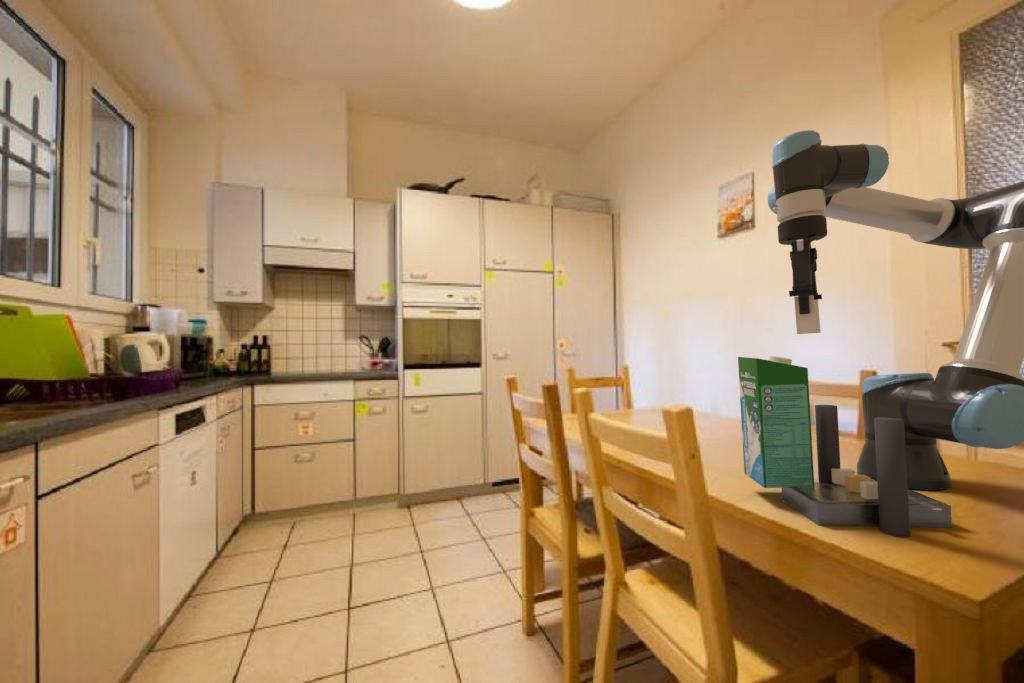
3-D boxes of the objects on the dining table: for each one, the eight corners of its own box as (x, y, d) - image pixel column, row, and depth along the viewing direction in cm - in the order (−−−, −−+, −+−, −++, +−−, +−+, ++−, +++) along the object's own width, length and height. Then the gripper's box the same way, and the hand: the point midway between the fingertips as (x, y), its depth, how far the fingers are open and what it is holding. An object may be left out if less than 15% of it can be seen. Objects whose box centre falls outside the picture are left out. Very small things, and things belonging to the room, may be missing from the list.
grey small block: (850, 482, 81) (849, 468, 81) (855, 484, 79) (854, 470, 79) (832, 481, 81) (831, 468, 81) (836, 484, 80) (835, 470, 80)
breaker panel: (887, 497, 83) (886, 478, 83) (963, 532, 67) (962, 508, 67) (777, 496, 85) (776, 477, 85) (825, 530, 69) (824, 507, 69)
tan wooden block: (865, 488, 77) (864, 474, 77) (870, 491, 75) (869, 477, 75) (845, 488, 77) (844, 474, 77) (850, 491, 76) (850, 477, 76)
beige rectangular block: (881, 496, 73) (880, 481, 73) (887, 499, 71) (886, 484, 71) (860, 496, 73) (860, 481, 73) (866, 499, 72) (865, 484, 72)
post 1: (834, 493, 86) (830, 404, 86) (846, 500, 82) (841, 406, 83) (815, 493, 86) (811, 404, 87) (826, 499, 83) (821, 407, 83)
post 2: (898, 527, 69) (892, 417, 70) (916, 537, 66) (910, 420, 66) (874, 527, 70) (868, 417, 70) (890, 537, 66) (884, 421, 67)
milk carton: (814, 487, 80) (807, 355, 80) (764, 488, 81) (756, 357, 81) (789, 473, 89) (782, 354, 89) (744, 473, 90) (737, 356, 90)
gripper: (785, 235, 91) (792, 334, 91) (767, 209, 72) (776, 335, 71) (828, 227, 86) (836, 331, 86) (822, 197, 67) (832, 332, 66)
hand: (809, 333), depth 79 cm, fingers open, 13 cm apart
